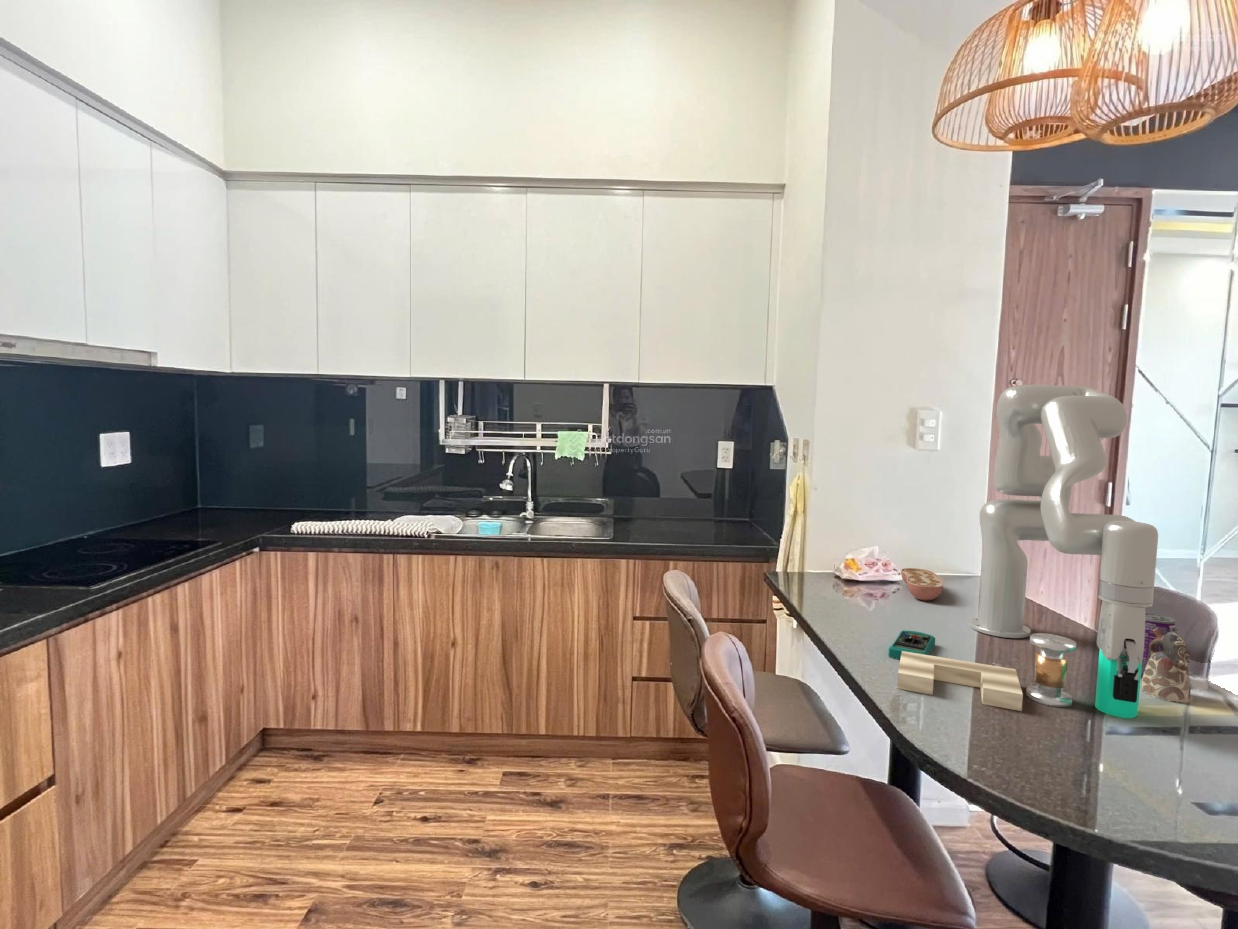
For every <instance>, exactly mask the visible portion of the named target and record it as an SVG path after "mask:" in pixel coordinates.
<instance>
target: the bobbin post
mask: <svg viewBox="0 0 1238 929" xmlns="http://www.w3.org/2000/svg"><path fill="white" fill-rule="evenodd" d="M1029 643H1030V644H1032V645H1033V646H1035V647H1038V648H1040V650H1038V651H1036V652H1035V661H1034V662H1035V665H1034V666H1035V667H1034V676H1033V677H1034V680H1033V681H1034V682H1035V683H1037V685H1029V686H1027V687H1026V691H1025V695H1026V697H1027V696H1028V697H1027V698H1028V699H1030V700H1032V701H1033V702H1036V703H1039V704H1041V705H1045V706H1048V705H1049V707H1055V708H1068V707H1071V706H1072V705H1073V697H1072V695H1071V694H1070V693H1068V692H1066V691H1064V690H1063V689H1064V688H1066V686H1067V675H1068V674H1067V671H1068V659H1069V658H1068V657H1067V656H1066V655H1065V653H1069V652H1070V653H1071V652H1072V653H1073V652H1075V651H1076V650H1077V641H1075V640H1073V639H1071V638H1068V637H1066V636H1061V635H1058V634H1054V633H1053V634H1052V633H1044V632H1037V633H1031V635H1030V636H1029Z"/></svg>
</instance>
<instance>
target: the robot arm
mask: <svg viewBox="0 0 1238 929" xmlns="http://www.w3.org/2000/svg"><path fill="white" fill-rule="evenodd" d="M996 419H997V425H998V434H999V435H998V441H997V442H998V443H997V450H996V454H995V455H996V456H995V461H994V469H993V476H992V481H993V483H992V484H993V488H994V489H995V490H996V491H997V493H1000V494H1001V495H1002V494H1003V495H1007V496H1017V497H1018V496H1019V497H1039V498H1038V500H1034V499H1015V498H1014V499H1011V498H1010V499H1009V498H1001V499H993V500H989V501H987V502H986V503H984V504H983V505H982V506H981V509H980V511H979V527H980V532H981V534H980V535H981V560H980V561H981V562H980V564H981V567H980V579H979V580H980V581H979V594H978V595H979V598H978V613H977V617H974V618H973V619H971V620H970V627H971V628H972V629H974V631H978V633H983V634H986V635H990V636H994V637H1000V638H1007V639H1025V638H1028V637H1030V635H1031V634H1032V629H1031V628H1030V627H1028V626H1026V625H1025V623H1024V619H1025V606H1026V605H1025V604H1026V590H1027V579H1028V578H1027V577H1028V576H1027V575H1028V566H1029V565H1028V557H1027V555H1026V553H1025V552H1024V550H1023V549H1022V547H1021V546H1020V545H1019V543H1018V542H1019V541H1036V542H1038V541H1039V542H1040V541H1041V542H1049V543H1050V544H1051V546H1052V548H1054V549H1055V550H1056V551H1058V552H1060V553H1063V554H1066V555H1084V556H1085V555H1088V556H1100V557H1101V558H1100V568H1099V569H1100V570H1099V583H1098V584H1099V585H1098V596H1097V598H1098V599H1099V600H1101V601H1102V602H1101V607H1100V613H1099V620H1098V629H1097V636H1096V637H1097V638H1096V646H1097V648H1098V649H1099V650H1100V649H1101V651H1102V654H1103V655H1104V656H1105V658H1106V659H1108V660H1109V661H1111V660H1112V659H1115V660H1116V671H1117V675H1114V685H1113V698H1114V699H1116V700H1122V701H1128V702H1136V701H1137V692H1138V677H1139V676H1138V672H1139V671H1138V664H1140V663H1141V662H1142V659H1143V652H1144V638H1145V620H1146V619H1145V613H1146V608H1150V607H1152V606H1153V605H1154V592H1155V578H1156V568H1157V556H1158V555H1157V553H1158V544H1159V542H1158V541H1159V532H1158V530H1157V528H1156V527H1155V526H1154V525H1152V524H1150V523H1146V522H1141V521H1136V520H1134V519H1132V518H1130V517H1128V516H1126V515H1120V514H1119V515H1118V514H1102V513H1080V512H1078V513H1077V512H1076V513H1074V512H1072V513H1071V512H1070V510H1069V506H1070V502H1071V501H1070V500H1071V495H1072V491H1073V485H1074V484H1077V483H1079V482H1082V481H1086V480H1088V479H1090V478H1094V477H1095V476H1098V475H1099V474H1100V473H1102V472H1104V470H1106V468H1107V466H1108V458H1107V455H1106V452H1105V449H1104V447H1103V443H1102V439H1113V438H1117V437H1118V436H1120V435H1122V434H1123V432H1124V431H1125V430H1126V427H1127V425H1128V424H1127V423H1128V414H1127V411H1126V409H1125V407H1124V404H1123V403H1122V402H1121V401H1120V400H1119V399H1117V398H1116V397H1114V396H1113V395H1109V394H1108V393H1105V392H1102V391H1099V390H1097V389H1094V388H1091V387H1088V386H1083V385H1060V384H1059V385H1052V384H1022V385H1013V386H1011V387H1007V388H1006V389H1005V390H1004V391H1003V392H1002V393H1001V394H1000V395H999V398H998V401H997V404H996ZM1036 424H1039V425H1042V426H1043V427H1042V428H1043V430H1044V433H1045V437H1046V440H1047V445H1048V448H1049V451H1050V455H1041V454H1040V453H1041V448H1042V444H1043V438H1042V437H1043V436H1042V433H1041V431H1040V430H1039V428H1038V426H1037V425H1036ZM1120 657H1127V659H1124V658H1120ZM1138 658H1139V659H1138ZM1121 664H1126V665H1124V666H1123V668H1122V666H1121Z"/></svg>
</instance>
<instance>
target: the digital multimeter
mask: <svg viewBox="0 0 1238 929" xmlns="http://www.w3.org/2000/svg"><path fill="white" fill-rule="evenodd" d="M935 646H936V637H934V635H932V634H927V633H925V632H920V631H914V630H904V629H902V630H901V631H899V633H898V636H897V637H896V639H895V640H894V642H893V643H892V644H891V645H889V647H888V654H887V656H888V657H889V658H890V657H893V658H892V659H895V658H897V659H896V660H899V659H900V658H901V653H902V651H905V652H911V653H917V654H924V655H930V653H931V652H932V650H933V649H934V647H935Z"/></svg>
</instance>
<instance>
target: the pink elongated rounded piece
mask: <svg viewBox="0 0 1238 929" xmlns="http://www.w3.org/2000/svg"><path fill="white" fill-rule="evenodd" d="M900 574H901V579H902V580H903V581H904V583H905V584H906V585H907V589H908V591H909V593H910V594H911V595H912V596H913V597H914V598H916V599H918V600H919V601H927V602H928V601H933V600H934V599H937V598H938V597H939V596H940V595H941V594H942V592H943V588H944V582H943V579H942V577H941V576H939V575H938V574H937V573H935V572H934V571H931V570H928V569H924V568H915V567H914V568H912V567H910V568H909V567H907V568H906V567H905V568H901V570H900Z"/></svg>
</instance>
